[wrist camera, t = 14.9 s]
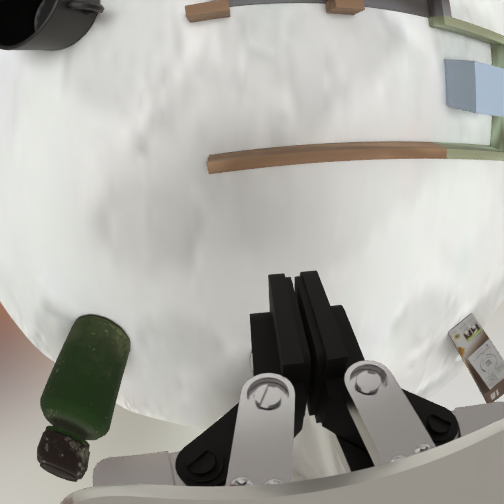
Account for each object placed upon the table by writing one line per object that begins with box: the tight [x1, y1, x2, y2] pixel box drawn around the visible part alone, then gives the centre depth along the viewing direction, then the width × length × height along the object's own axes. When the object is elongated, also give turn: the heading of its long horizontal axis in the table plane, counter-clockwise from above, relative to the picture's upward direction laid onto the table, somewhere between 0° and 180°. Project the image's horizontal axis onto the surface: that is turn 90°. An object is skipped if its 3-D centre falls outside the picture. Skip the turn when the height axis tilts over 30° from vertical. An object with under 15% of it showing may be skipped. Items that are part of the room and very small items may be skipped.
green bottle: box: [37, 316, 130, 482], centre depth 35 cm, size 10×10×25 cm
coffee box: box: [449, 314, 504, 403], centre depth 44 cm, size 9×6×16 cm
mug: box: [0, 0, 104, 50], centre depth 18 cm, size 9×12×9 cm
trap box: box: [185, 0, 504, 174], centre depth 25 cm, size 24×39×3 cm, turn 96°
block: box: [444, 59, 504, 117], centre depth 25 cm, size 6×6×6 cm
